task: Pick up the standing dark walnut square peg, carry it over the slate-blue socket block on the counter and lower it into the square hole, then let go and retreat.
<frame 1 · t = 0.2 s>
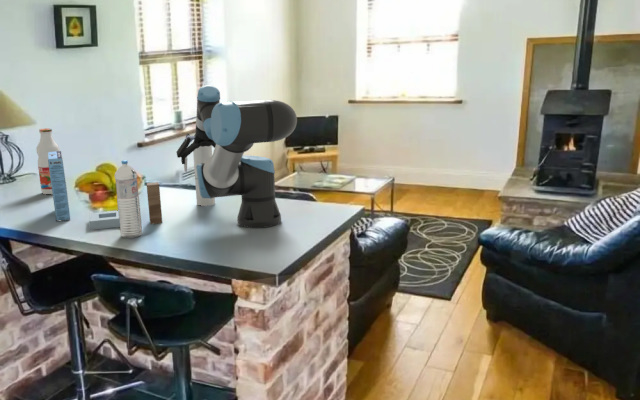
hand: (203, 168, 229), 16 cm above the countertop, tool tilted 35°, fingers open, 13 cm apart
cylindrical container: (206, 204, 239), on the countertop
socket block: (108, 223, 214), on the countertop
peg: (156, 222, 214), on the countertop
fruit juice: (53, 193, 265), on the countertop
water bottle: (131, 236, 199), on the countertop
blue cardboard box: (62, 215, 227), on the countertop
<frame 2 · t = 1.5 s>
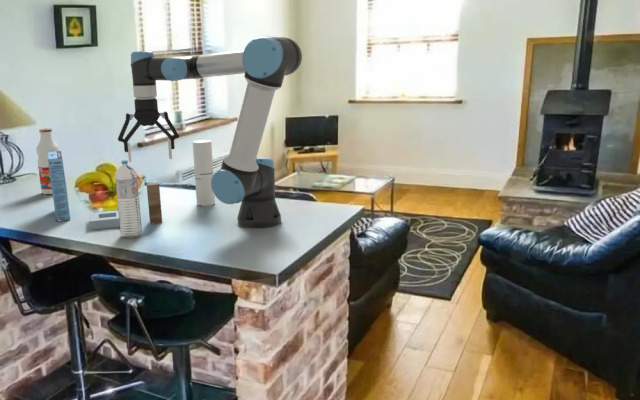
hand: (150, 160, 209), 22 cm above the countertop, tool pointing down, fingers open, 13 cm apart
nothing on the countertop moved.
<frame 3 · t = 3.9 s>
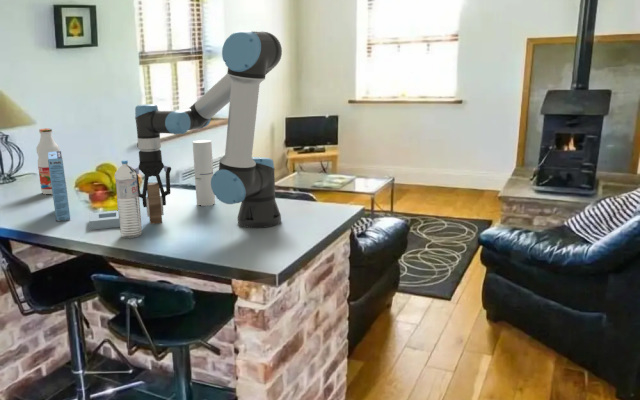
hand: (155, 214, 214), 3 cm above the countertop, tool pointing down, fingers closed on peg, 4 cm apart
peg: (156, 222, 214), on the countertop, touching gripper
everything else where it was.
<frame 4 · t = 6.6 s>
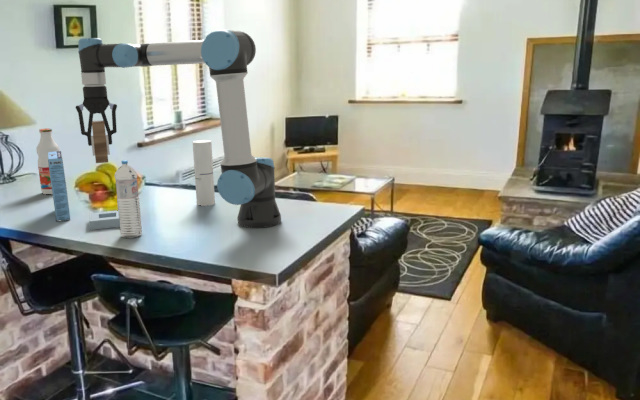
hand: (101, 154, 208), 25 cm above the countertop, tool pointing down, fingers closed on peg, 4 cm apart
peg: (102, 161, 209), point 22 cm above the countertop, touching gripper
everything else where it was.
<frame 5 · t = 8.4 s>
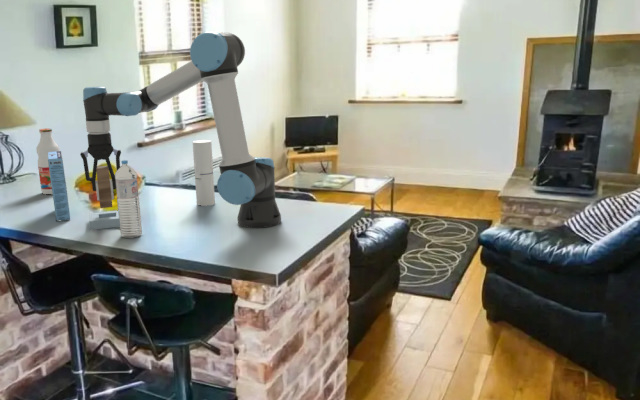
hand: (105, 199, 212), 9 cm above the countertop, tool pointing down, fingers closed on peg, 4 cm apart
peg: (106, 206, 212), point 6 cm above the countertop, touching gripper
everything else where it was.
when the fingers open (5 cm above the countertop, at t = 9.6 s): peg drops 2 cm, resting in socket block.
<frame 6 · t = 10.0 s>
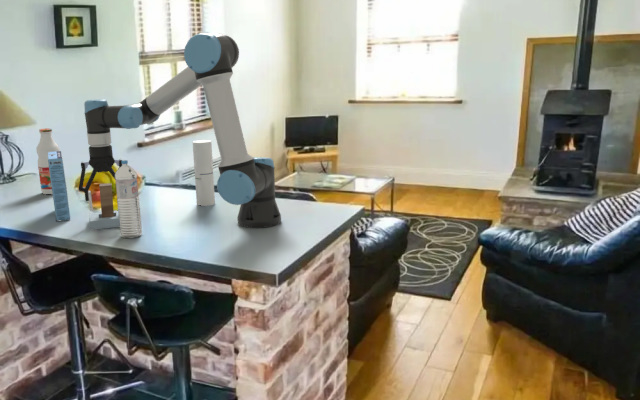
hand: (106, 208, 212), 6 cm above the countertop, tool pointing down, fingers open, 9 cm apart
peg: (108, 223, 214), resting in socket block
everything else where it was.
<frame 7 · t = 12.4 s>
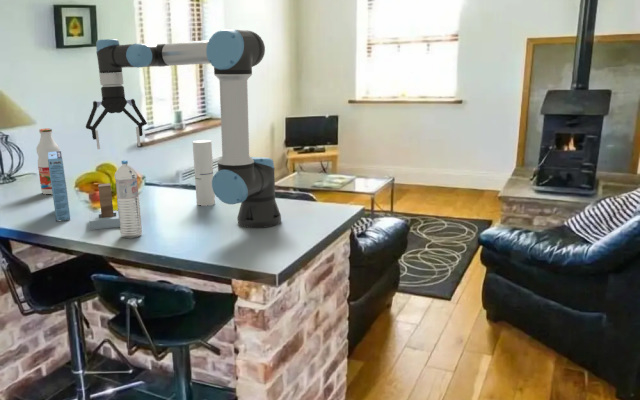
hand: (119, 147, 212), 26 cm above the countertop, tool pointing down, fingers open, 13 cm apart
nothing on the countertop moved.
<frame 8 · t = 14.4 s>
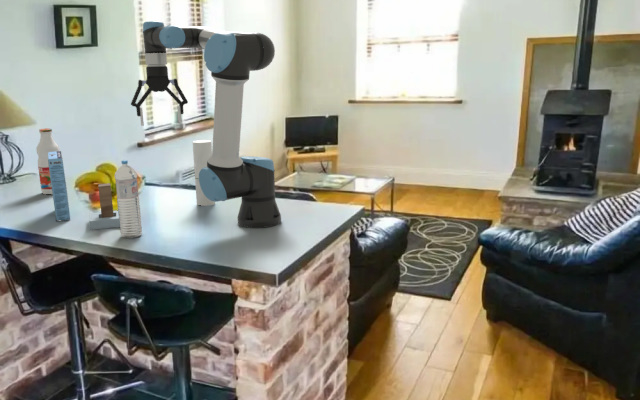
hand: (161, 124, 224), 33 cm above the countertop, tool pointing down, fingers open, 13 cm apart
nothing on the countertop moved.
at the end: peg 0.1 cm off-centre on the socket block, point 0.0 cm above the socket block's base; peg tilted 0°; the gripper is holding nothing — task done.
